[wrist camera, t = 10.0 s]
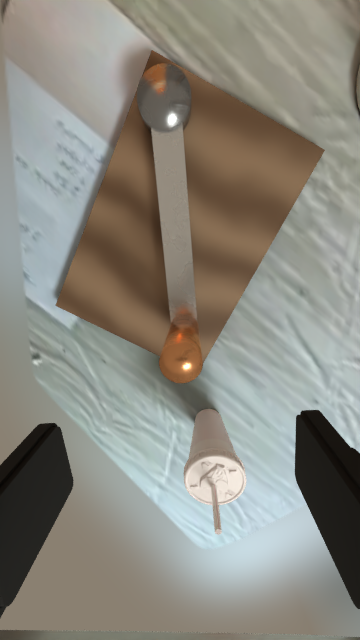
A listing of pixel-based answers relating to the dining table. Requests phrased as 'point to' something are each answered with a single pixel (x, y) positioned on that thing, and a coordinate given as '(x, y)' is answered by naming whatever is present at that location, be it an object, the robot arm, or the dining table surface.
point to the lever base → (204, 213)
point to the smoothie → (213, 465)
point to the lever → (173, 213)
